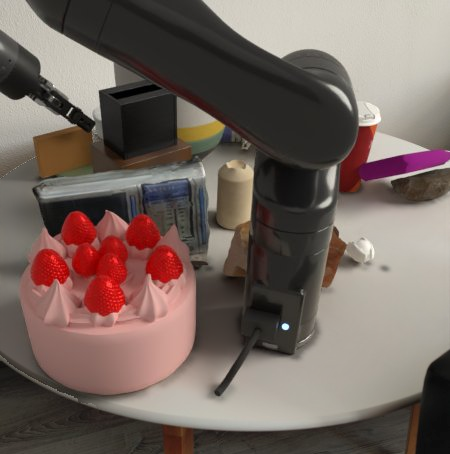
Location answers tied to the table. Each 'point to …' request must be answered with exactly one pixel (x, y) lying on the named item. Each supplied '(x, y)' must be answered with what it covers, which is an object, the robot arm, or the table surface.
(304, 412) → the table surface
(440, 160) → the purple angular slab
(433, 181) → the rock
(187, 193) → the radio
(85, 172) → the plate
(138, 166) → the riser
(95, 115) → the ramekin
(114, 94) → the toaster
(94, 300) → the cake
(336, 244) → the stone
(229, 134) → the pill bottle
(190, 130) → the planter
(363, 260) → the garlic
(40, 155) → the toast
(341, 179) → the paper cup
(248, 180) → the candle
